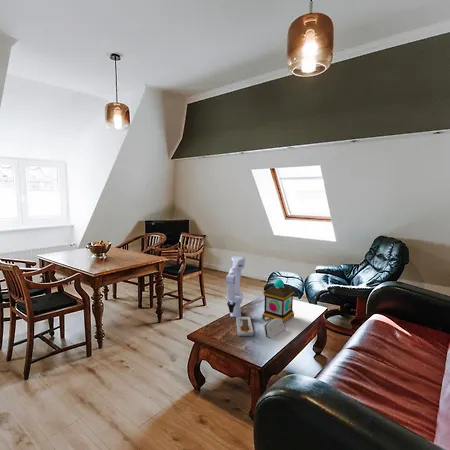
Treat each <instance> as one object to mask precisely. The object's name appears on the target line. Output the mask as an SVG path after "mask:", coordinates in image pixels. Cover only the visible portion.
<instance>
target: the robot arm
mask: <svg viewBox="0 0 450 450" xmlns="http://www.w3.org/2000/svg"><path fill="white" fill-rule="evenodd" d="M245 263H246V258H245V256H234V255H232V256H231V258H230V264H231V266H232V267H231V268H229V271H228V274H226V277H225V284H226V297H224V298H225V300H226V301H227V303H226V305H227V307H228V312H229V314H230V317H233V318H234V317H235V318H236V317H242V312H241V304H242V303H243V292H242V291H241V290H240V287H241V276H242V270H243V269H244V268H245V266H246V265H245Z"/></svg>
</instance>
